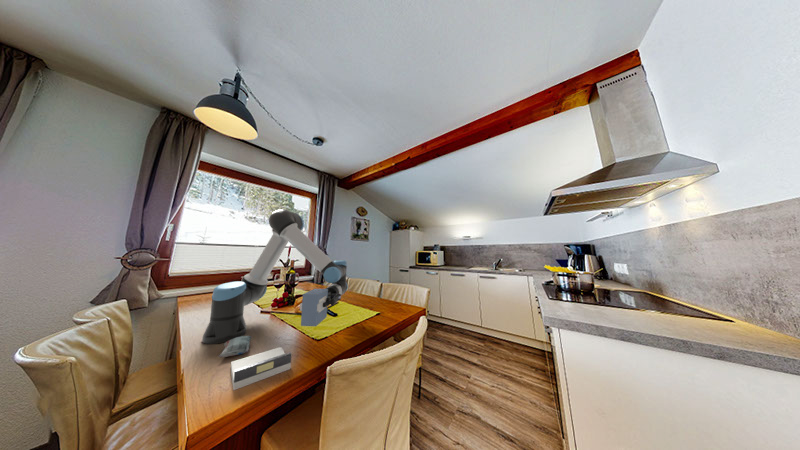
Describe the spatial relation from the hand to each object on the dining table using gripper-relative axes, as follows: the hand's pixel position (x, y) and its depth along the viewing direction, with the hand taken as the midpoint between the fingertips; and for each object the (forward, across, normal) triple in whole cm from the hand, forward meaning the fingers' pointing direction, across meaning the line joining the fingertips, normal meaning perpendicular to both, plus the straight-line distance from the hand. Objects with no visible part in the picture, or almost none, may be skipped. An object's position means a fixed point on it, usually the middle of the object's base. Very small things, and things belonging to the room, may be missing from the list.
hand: (309, 307), depth 77 cm
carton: (-5, 0, -7) cm, 9 cm away
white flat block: (+8, +12, -18) cm, 23 cm away
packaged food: (-1, +29, -18) cm, 35 cm away
